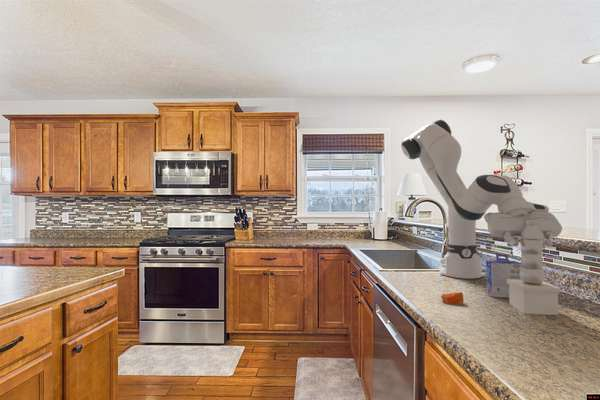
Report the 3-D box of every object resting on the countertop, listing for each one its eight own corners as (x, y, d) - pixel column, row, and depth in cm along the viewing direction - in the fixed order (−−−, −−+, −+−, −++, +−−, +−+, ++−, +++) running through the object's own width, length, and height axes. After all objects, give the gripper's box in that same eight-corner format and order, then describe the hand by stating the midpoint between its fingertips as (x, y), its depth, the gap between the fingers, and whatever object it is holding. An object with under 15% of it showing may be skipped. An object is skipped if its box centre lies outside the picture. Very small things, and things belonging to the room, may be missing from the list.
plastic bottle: (516, 283, 97) (515, 219, 97) (522, 279, 101) (521, 218, 102) (542, 287, 92) (541, 219, 92) (547, 283, 97) (546, 218, 97)
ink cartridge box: (516, 294, 112) (515, 254, 113) (523, 299, 107) (522, 256, 107) (485, 293, 114) (485, 253, 115) (492, 297, 109) (491, 256, 109)
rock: (426, 299, 110) (426, 287, 110) (459, 297, 111) (458, 285, 111) (445, 310, 98) (444, 297, 98) (481, 309, 99) (481, 295, 100)
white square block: (507, 303, 102) (506, 279, 103) (541, 304, 101) (540, 280, 101) (523, 314, 93) (522, 287, 93) (561, 315, 91) (560, 288, 91)
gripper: (485, 206, 106) (498, 238, 96) (552, 206, 102) (574, 239, 92) (480, 219, 110) (492, 251, 100) (545, 218, 106) (564, 252, 97)
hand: (532, 245), depth 96 cm, fingers open, 8 cm apart
